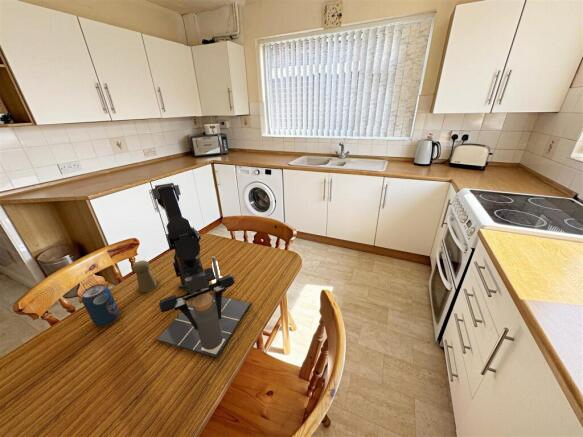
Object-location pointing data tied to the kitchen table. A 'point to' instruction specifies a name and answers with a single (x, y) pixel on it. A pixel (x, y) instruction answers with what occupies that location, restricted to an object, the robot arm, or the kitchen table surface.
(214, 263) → the screw
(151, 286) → the pepper shaker
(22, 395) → the kitchen table surface
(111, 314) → the soda can
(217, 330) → the bottle
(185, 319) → the grid board
